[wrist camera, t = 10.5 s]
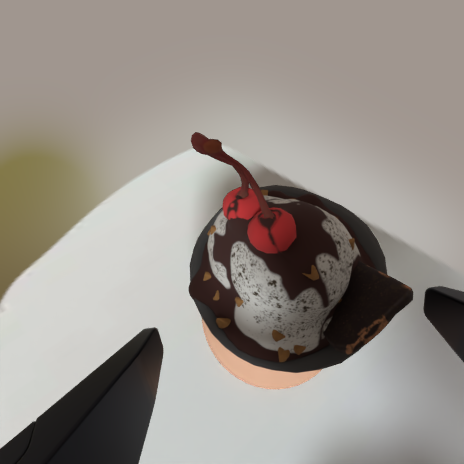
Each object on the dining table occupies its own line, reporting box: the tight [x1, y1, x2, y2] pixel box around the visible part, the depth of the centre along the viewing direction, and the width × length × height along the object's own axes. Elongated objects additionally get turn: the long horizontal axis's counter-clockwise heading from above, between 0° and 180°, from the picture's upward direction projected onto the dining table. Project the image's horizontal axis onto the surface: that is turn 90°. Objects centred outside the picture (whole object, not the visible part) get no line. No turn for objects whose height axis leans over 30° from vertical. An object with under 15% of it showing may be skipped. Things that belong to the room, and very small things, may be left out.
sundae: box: [189, 132, 413, 373], centre depth 10 cm, size 7×7×15 cm
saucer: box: [202, 319, 322, 389], centre depth 18 cm, size 10×10×1 cm
